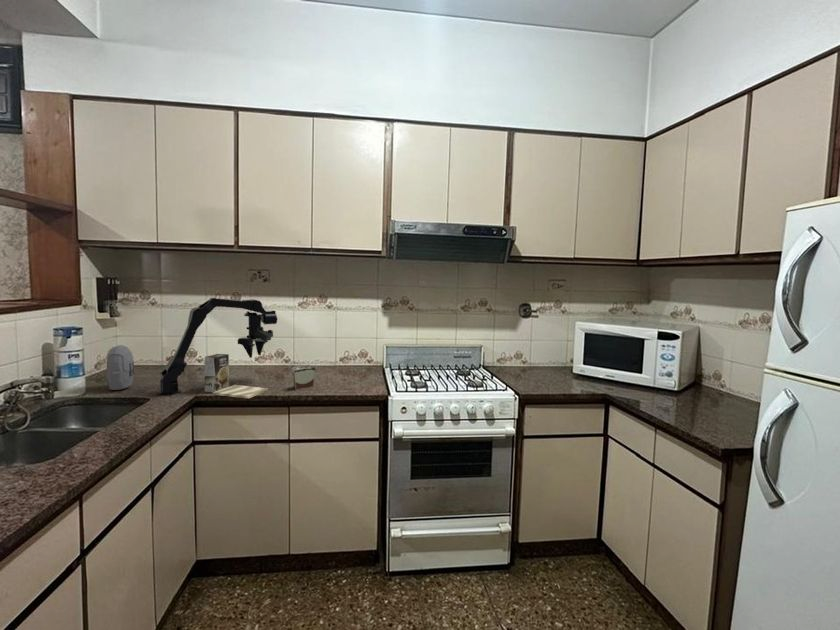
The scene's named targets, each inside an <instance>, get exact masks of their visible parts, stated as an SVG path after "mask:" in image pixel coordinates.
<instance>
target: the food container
mask: <svg viewBox="0 0 840 630" xmlns="http://www.w3.org/2000/svg"><path fill="white" fill-rule="evenodd" d="M316 371H317V367H316V365H307V364H306V365H297V366H294V367H292V369H291V374H292V377H293V388H294V390H295V391H298V389H299V390H304V389H303V388H305V389H309V388H308V387H310V388H314V387H313V386H314V385H315V375H316V374H315V373H316Z"/></svg>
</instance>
